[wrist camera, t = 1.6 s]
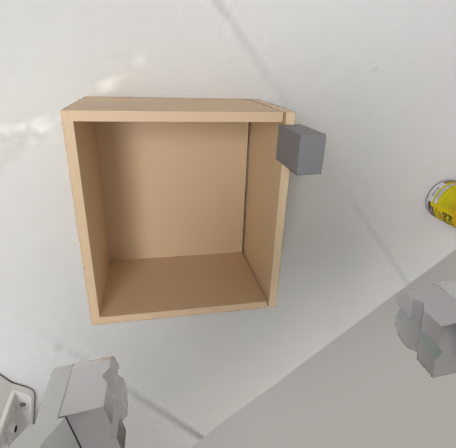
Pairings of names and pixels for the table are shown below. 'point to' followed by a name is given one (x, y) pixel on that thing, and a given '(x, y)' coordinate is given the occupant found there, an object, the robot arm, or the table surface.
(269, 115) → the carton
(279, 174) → the light wood flat panel
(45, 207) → the table surface
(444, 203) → the supplement bottle
